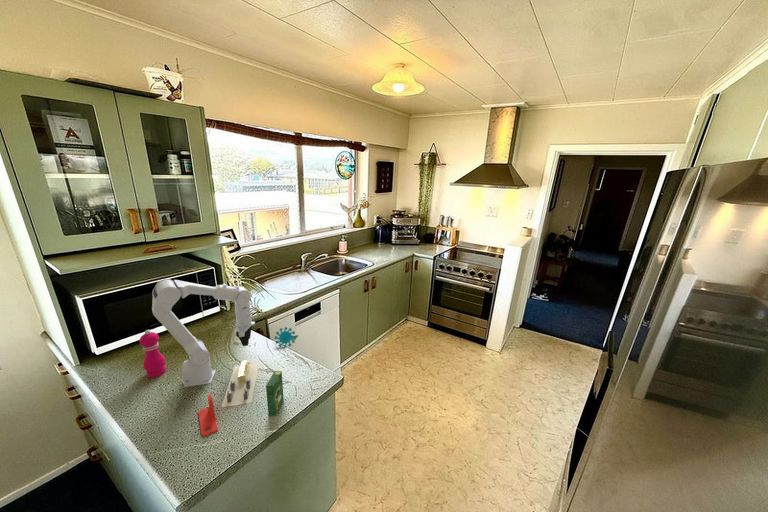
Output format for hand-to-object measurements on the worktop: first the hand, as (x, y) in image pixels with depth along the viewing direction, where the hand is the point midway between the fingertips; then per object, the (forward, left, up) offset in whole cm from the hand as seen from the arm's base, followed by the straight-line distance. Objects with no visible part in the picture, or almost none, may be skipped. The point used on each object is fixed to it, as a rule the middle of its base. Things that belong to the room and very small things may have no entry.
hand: (246, 342), depth 127 cm
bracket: (-8, -32, -10) cm, 34 cm away
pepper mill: (-35, -1, -10) cm, 36 cm away
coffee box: (+14, -31, -10) cm, 35 cm away
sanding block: (0, -10, -9) cm, 13 cm away
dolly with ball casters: (0, -21, -9) cm, 22 cm away
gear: (+16, +10, -10) cm, 21 cm away
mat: (0, -15, -9) cm, 18 cm away
